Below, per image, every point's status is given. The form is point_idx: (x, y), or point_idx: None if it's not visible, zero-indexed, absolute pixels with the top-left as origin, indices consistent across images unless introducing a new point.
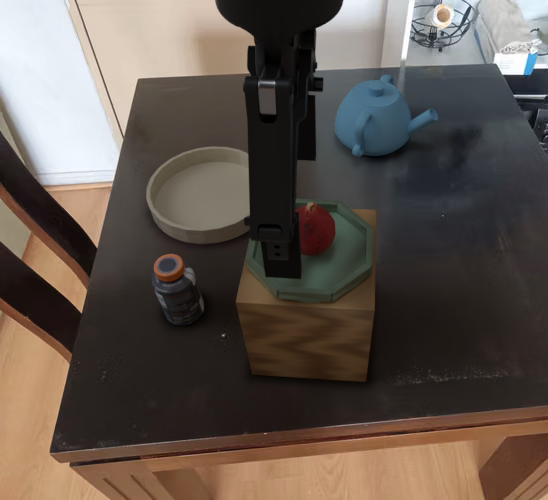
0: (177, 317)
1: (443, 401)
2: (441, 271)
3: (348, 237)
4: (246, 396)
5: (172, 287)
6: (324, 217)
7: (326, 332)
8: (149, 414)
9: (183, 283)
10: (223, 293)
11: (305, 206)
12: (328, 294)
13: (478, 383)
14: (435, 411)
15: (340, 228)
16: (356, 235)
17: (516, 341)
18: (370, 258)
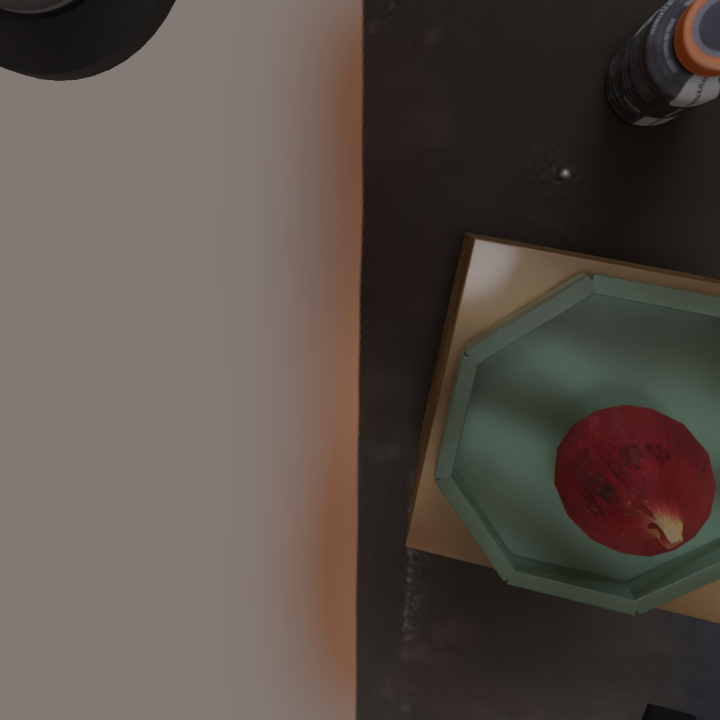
0: (615, 66)
1: (372, 536)
2: None
3: None
4: (422, 220)
5: (659, 47)
6: (630, 546)
7: (430, 415)
8: (411, 32)
9: (666, 77)
10: (679, 169)
11: (687, 504)
12: (435, 471)
13: (395, 594)
14: (358, 520)
15: None
16: (635, 560)
17: (460, 674)
18: (530, 585)
